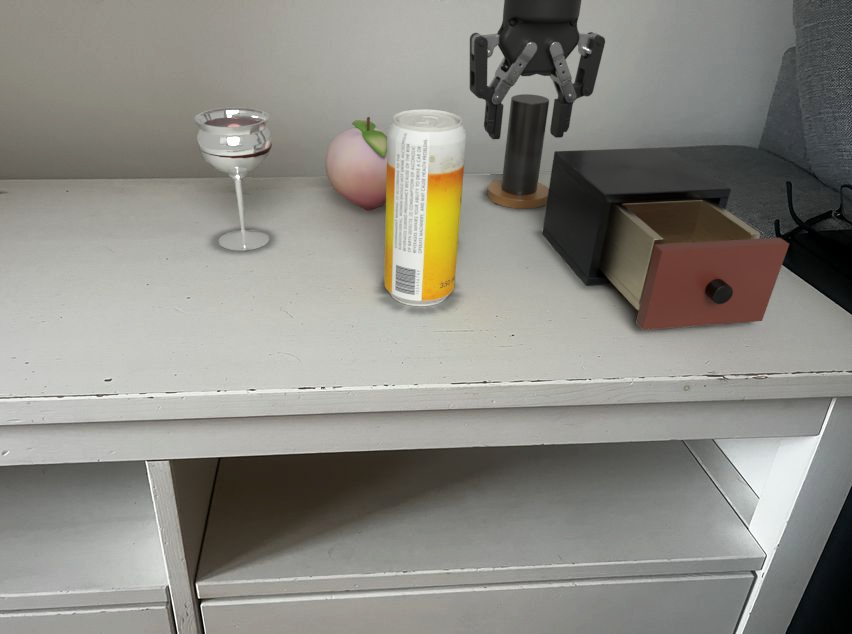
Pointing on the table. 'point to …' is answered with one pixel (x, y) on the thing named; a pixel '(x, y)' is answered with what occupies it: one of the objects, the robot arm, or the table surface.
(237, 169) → the wineglass
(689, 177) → the drawer cabinet
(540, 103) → the dark grey cylinder
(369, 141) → the decorative fruit
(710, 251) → the cabinet drawer
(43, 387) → the table surface
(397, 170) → the beer can
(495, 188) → the disc
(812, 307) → the table surface
